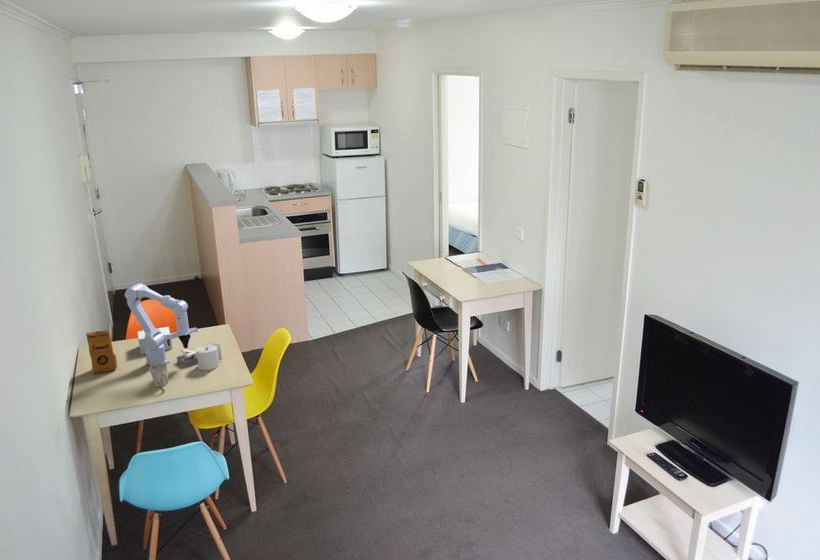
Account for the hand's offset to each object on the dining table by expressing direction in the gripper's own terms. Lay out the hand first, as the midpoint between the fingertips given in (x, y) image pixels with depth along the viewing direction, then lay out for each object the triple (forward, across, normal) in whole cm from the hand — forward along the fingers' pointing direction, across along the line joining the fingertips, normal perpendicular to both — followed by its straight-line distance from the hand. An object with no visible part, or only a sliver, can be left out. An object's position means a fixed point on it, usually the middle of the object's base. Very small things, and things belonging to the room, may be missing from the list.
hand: (185, 347), depth 348 cm
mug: (+10, -20, -15) cm, 27 cm away
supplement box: (+10, -3, +34) cm, 36 cm away
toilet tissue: (+10, +7, -10) cm, 16 cm away
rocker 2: (+5, +2, 0) cm, 5 cm away
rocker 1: (+5, +2, +4) cm, 7 cm away
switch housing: (+10, +2, +2) cm, 10 cm away
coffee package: (+10, -34, +25) cm, 44 cm away
